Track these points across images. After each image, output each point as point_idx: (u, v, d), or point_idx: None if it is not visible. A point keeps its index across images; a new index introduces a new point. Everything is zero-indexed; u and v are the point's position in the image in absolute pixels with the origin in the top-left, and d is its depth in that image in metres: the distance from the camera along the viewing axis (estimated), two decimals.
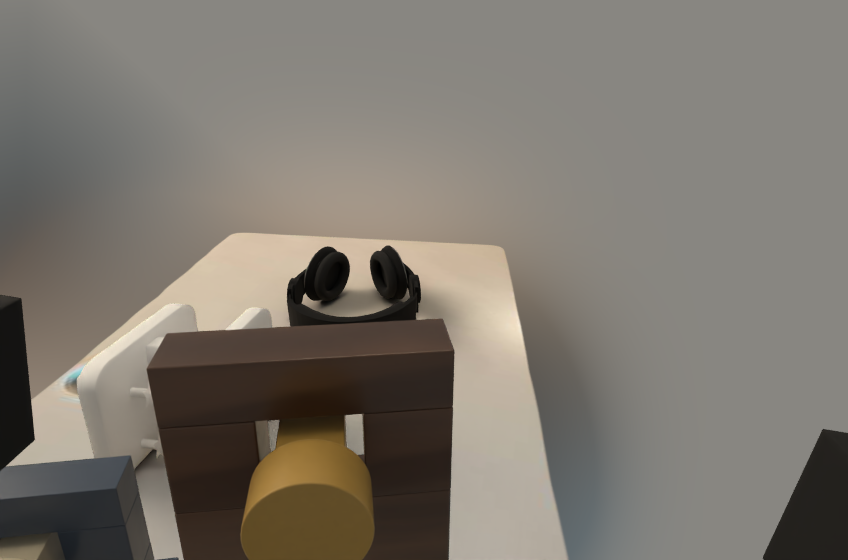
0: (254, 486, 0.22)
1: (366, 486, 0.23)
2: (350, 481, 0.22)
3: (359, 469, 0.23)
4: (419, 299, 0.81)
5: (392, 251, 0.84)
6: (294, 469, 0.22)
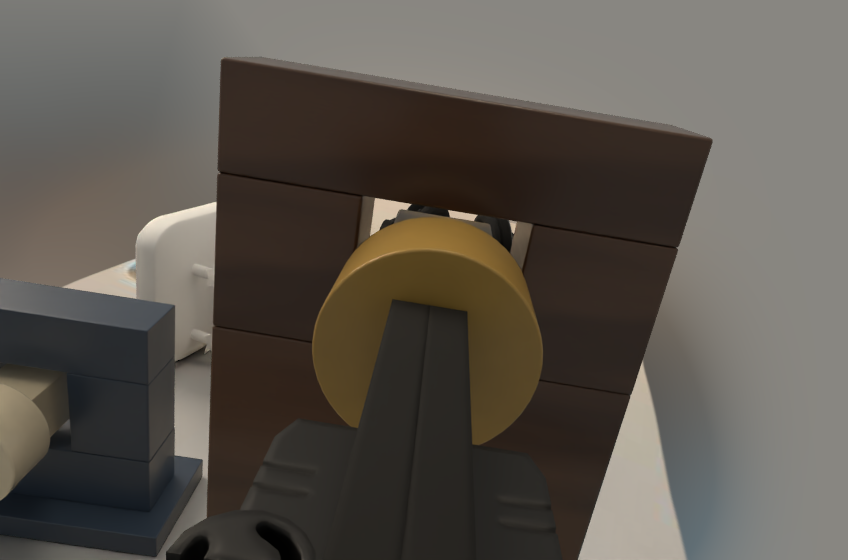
0: (352, 261, 0.13)
1: None
2: (517, 282, 0.12)
3: (524, 284, 0.13)
4: None
5: None
6: (427, 237, 0.12)
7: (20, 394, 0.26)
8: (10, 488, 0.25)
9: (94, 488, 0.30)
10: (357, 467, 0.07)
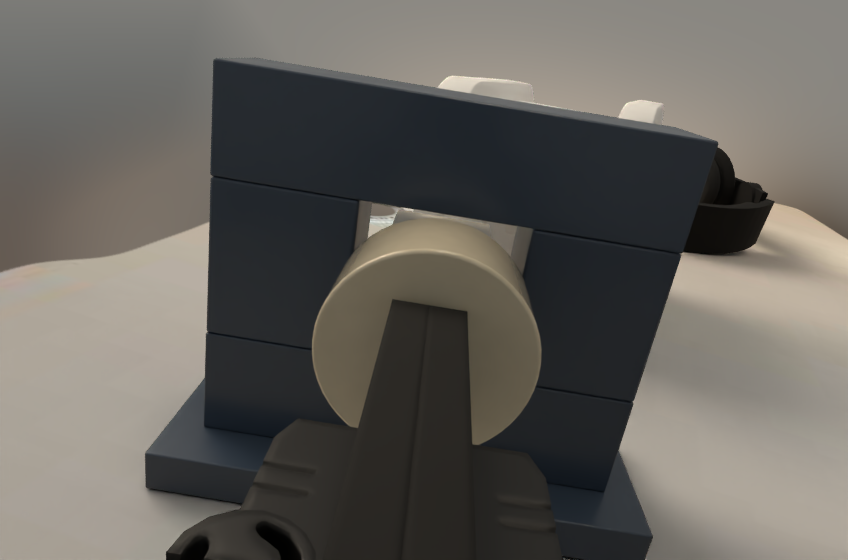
0: None
1: None
2: None
3: None
4: None
5: (717, 150, 0.61)
6: None
7: None
8: (518, 415, 0.13)
9: (520, 448, 0.17)
10: (357, 467, 0.07)
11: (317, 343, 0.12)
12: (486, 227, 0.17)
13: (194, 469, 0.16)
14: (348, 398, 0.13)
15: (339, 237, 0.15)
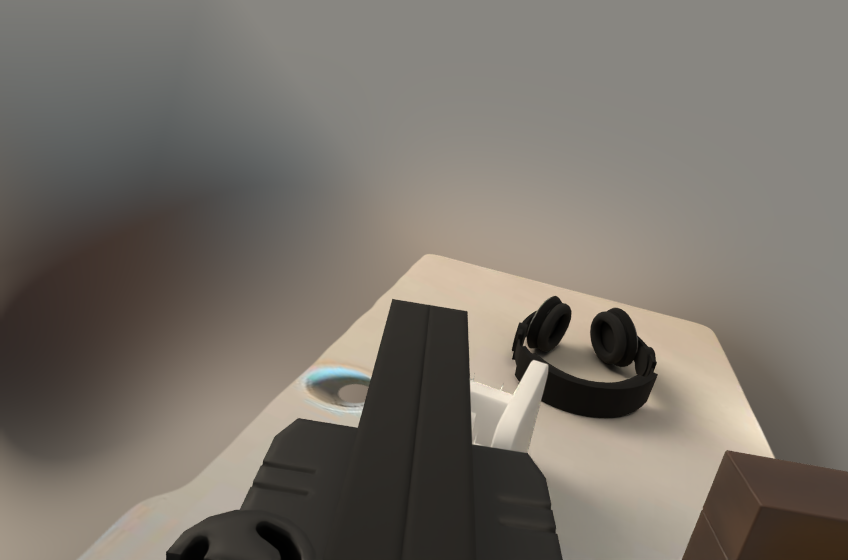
0: None
1: None
2: None
3: None
4: None
5: (625, 316, 0.79)
6: None
7: None
8: None
9: None
10: (357, 467, 0.07)
11: None
12: None
13: None
14: None
15: None
